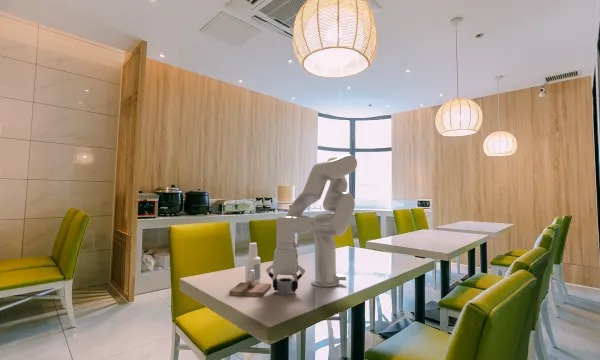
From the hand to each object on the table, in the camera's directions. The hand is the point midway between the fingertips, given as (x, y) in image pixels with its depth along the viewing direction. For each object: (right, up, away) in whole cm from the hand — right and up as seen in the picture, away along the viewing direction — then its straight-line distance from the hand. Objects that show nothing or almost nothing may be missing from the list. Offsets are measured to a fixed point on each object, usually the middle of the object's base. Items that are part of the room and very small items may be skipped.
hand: (285, 289), depth 114 cm
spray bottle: (-16, -2, +14) cm, 21 cm away
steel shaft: (-14, 0, +3) cm, 15 cm away
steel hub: (0, -1, 0) cm, 1 cm away
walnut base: (-14, -1, +3) cm, 15 cm away
